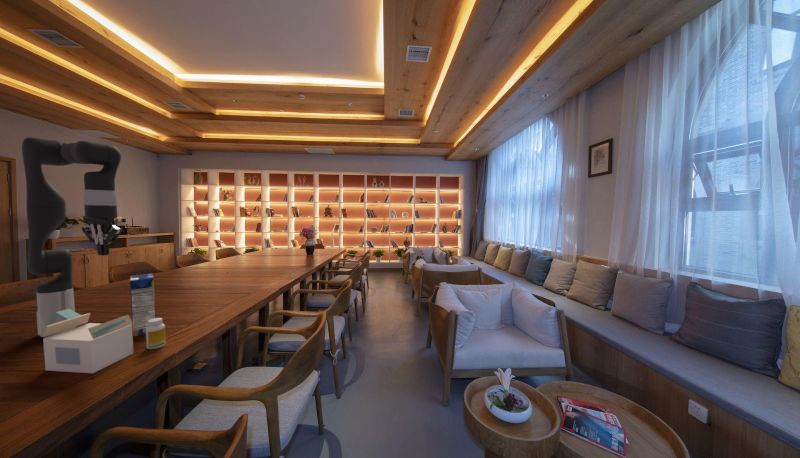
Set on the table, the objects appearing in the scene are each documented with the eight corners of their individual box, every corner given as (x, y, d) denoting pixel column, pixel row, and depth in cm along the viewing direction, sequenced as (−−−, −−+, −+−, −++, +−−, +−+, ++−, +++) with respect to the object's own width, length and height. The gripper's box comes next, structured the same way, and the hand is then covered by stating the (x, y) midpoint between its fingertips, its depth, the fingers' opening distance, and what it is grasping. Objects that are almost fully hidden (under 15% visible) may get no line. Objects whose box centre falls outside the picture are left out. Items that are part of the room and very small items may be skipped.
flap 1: (90, 313, 97) (71, 303, 98) (47, 326, 86) (26, 315, 87) (87, 322, 98) (68, 312, 98) (43, 336, 87) (23, 325, 87)
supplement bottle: (169, 343, 104) (168, 318, 104) (152, 350, 99) (151, 323, 99) (159, 341, 106) (158, 316, 106) (142, 348, 101) (141, 321, 100)
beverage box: (133, 336, 110) (129, 280, 109) (133, 327, 118) (130, 275, 117) (156, 331, 115) (153, 277, 113) (155, 323, 123) (152, 273, 121)
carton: (45, 370, 87) (42, 338, 86) (91, 351, 99) (89, 323, 98) (92, 373, 85) (90, 341, 85) (133, 353, 97) (131, 324, 97)
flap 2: (87, 328, 85) (108, 319, 84) (126, 315, 96) (145, 306, 95) (93, 339, 85) (113, 329, 84) (131, 324, 96) (149, 315, 95)
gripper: (69, 203, 92) (72, 256, 93) (106, 204, 91) (108, 258, 92) (96, 203, 99) (98, 252, 101) (130, 204, 98) (132, 254, 100)
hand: (103, 255), depth 96 cm, fingers closed
